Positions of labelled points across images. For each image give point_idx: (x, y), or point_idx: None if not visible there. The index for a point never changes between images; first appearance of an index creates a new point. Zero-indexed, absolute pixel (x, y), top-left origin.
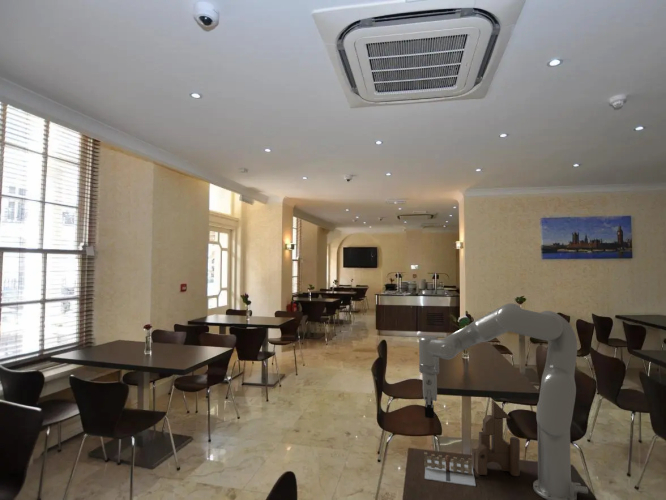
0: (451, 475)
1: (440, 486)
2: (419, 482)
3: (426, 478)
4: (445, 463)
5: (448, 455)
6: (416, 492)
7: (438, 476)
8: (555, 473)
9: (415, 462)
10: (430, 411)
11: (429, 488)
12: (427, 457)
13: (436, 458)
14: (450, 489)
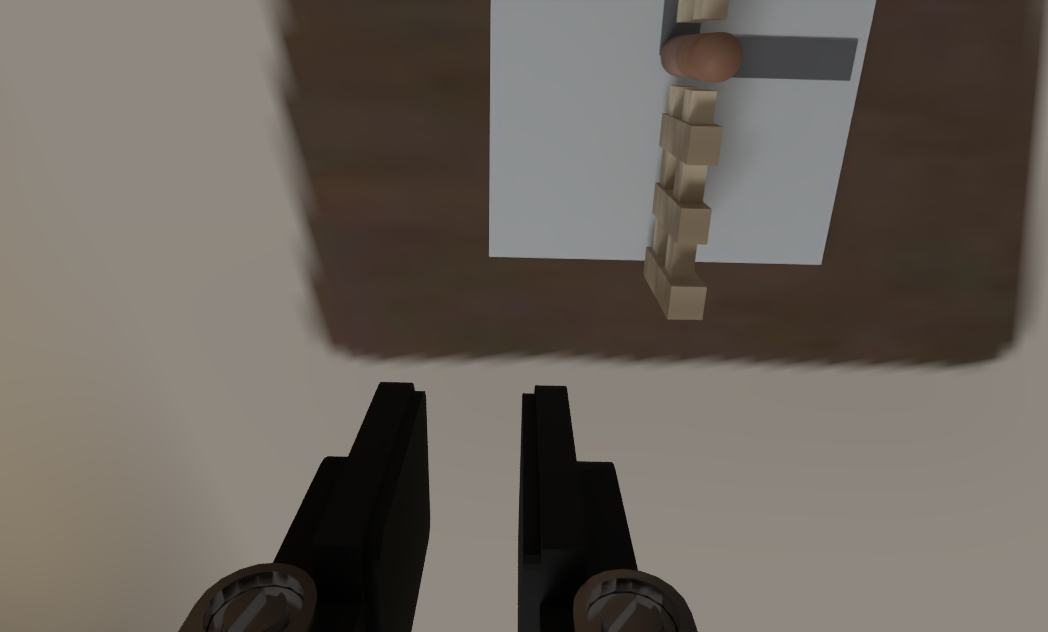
0: (751, 22)
1: (921, 134)
2: (866, 300)
3: (823, 250)
4: (529, 70)
5: (706, 45)
6: (1004, 319)
7: (782, 148)
8: None
9: (557, 336)
10: (625, 550)
11: (951, 225)
12: (692, 273)
13: (703, 183)
14: (968, 47)
